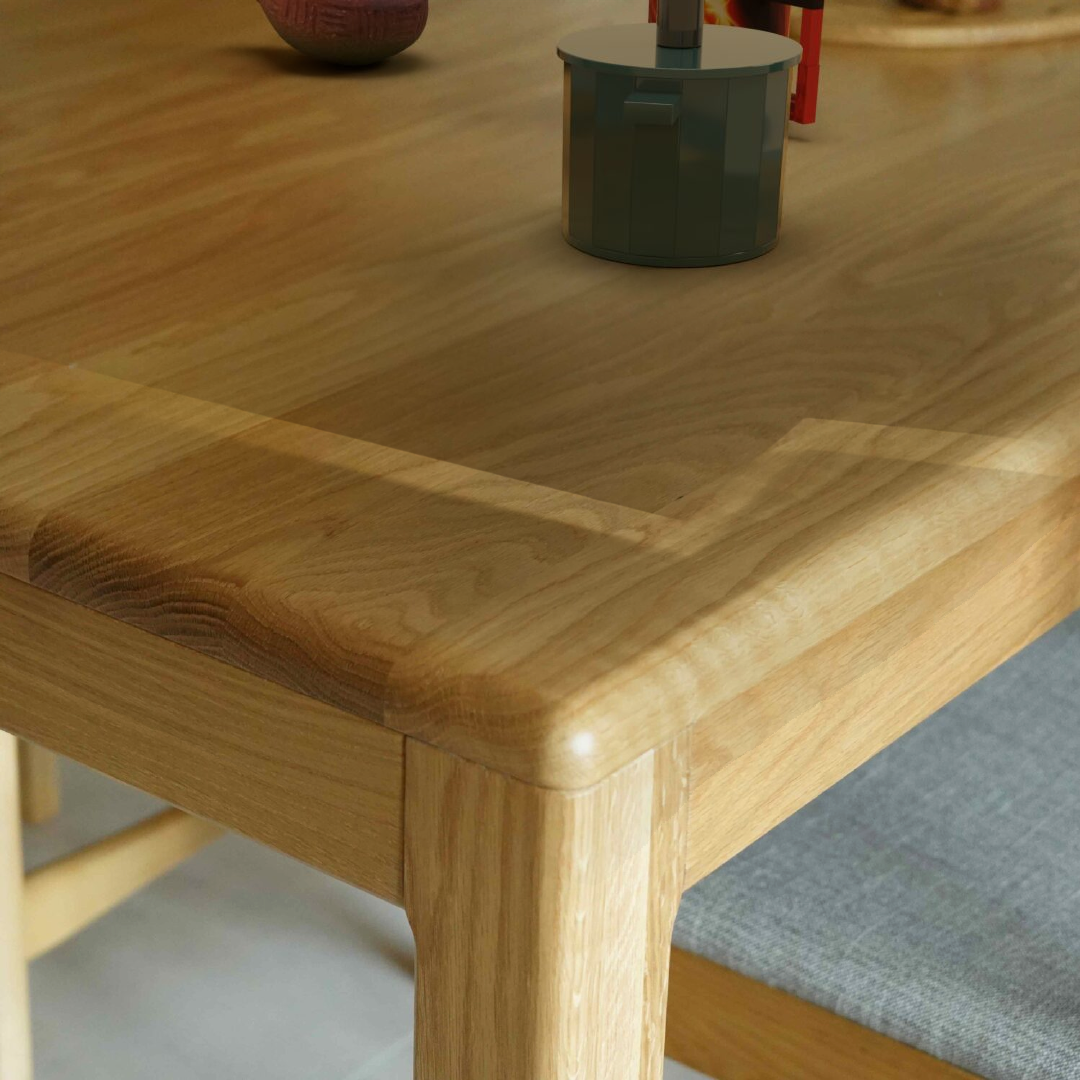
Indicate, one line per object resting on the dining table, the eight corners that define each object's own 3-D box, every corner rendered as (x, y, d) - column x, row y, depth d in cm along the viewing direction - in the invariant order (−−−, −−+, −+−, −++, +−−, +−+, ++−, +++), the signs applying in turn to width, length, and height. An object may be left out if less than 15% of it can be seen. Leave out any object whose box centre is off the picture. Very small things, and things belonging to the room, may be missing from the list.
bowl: (435, 47, 135) (432, -55, 132) (424, 80, 124) (421, -31, 120) (240, 46, 135) (232, -56, 132) (211, 78, 124) (202, -33, 120)
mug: (808, 143, 107) (824, -51, 102) (620, 117, 113) (626, -67, 108) (860, 115, 115) (878, -67, 109) (680, 92, 121) (689, -81, 115)
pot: (794, 200, 95) (807, 31, 91) (758, 292, 80) (772, 95, 76) (598, 186, 97) (601, 21, 93) (528, 273, 83) (528, 81, 78)
